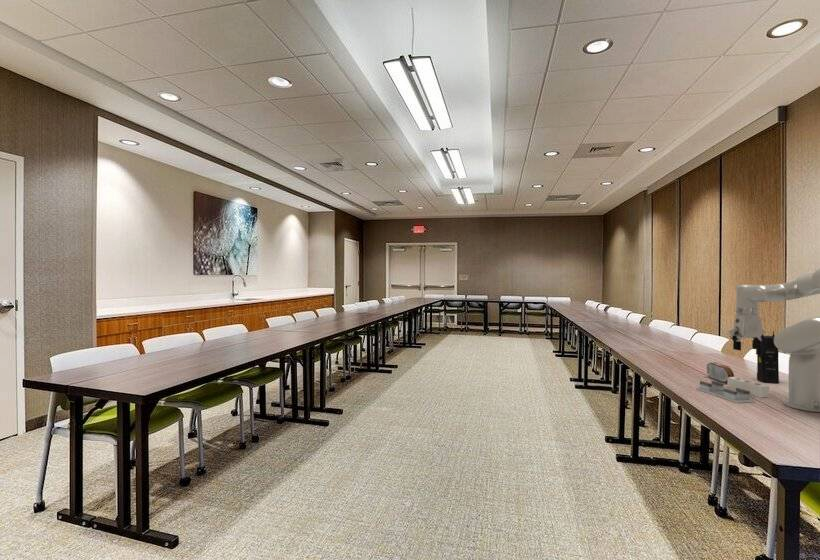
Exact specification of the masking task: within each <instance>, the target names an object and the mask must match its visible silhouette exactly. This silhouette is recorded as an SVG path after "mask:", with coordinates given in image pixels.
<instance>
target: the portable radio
mask: <svg viewBox="0 0 820 560" xmlns="http://www.w3.org/2000/svg"><path fill="white" fill-rule="evenodd" d="M775 335H776V334H775V330H773V331H772V335H764V337H763V338H762V341H761V344H760V350H757V349H755V355H756V359H757V363H756V365H757V366H756V380H757V381H759V382H762V383H765V384H766V383H768V384H780V376H779V374H780V372H779V370H780V369H779V368H780V367H779V365H780V364H779V349H778V348H777V347H776V346H775V344H774V337H775Z"/></svg>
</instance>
